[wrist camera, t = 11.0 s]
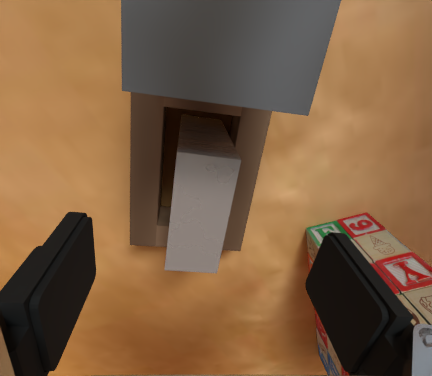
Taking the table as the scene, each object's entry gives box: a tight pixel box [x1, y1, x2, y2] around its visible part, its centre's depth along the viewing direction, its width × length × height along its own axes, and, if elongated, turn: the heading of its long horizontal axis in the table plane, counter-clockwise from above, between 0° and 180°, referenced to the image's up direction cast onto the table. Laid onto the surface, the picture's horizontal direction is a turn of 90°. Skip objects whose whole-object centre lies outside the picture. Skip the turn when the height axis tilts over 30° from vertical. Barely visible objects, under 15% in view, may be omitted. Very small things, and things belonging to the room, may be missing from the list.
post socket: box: [121, 0, 341, 251], centre depth 16 cm, size 9×19×11 cm, turn 172°
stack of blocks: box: [306, 213, 432, 376], centre depth 25 cm, size 21×6×12 cm, turn 14°
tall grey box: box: [165, 114, 241, 273], centre depth 18 cm, size 3×7×9 cm, turn 171°
